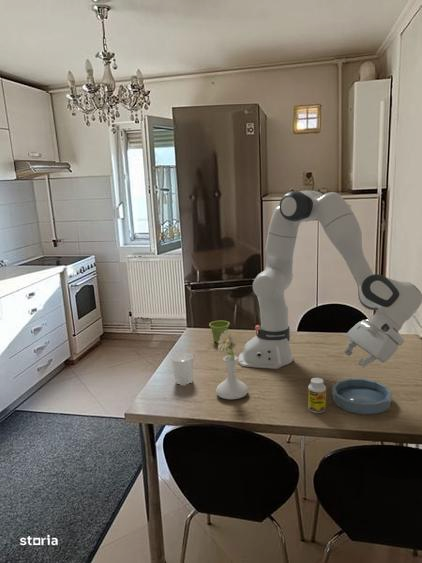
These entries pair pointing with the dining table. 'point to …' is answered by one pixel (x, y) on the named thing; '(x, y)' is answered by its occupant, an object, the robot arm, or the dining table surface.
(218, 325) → the plant pot
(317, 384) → the supplement bottle
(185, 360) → the white cup
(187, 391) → the dining table surface
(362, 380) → the slate dish
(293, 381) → the dining table surface
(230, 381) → the flower in vase
